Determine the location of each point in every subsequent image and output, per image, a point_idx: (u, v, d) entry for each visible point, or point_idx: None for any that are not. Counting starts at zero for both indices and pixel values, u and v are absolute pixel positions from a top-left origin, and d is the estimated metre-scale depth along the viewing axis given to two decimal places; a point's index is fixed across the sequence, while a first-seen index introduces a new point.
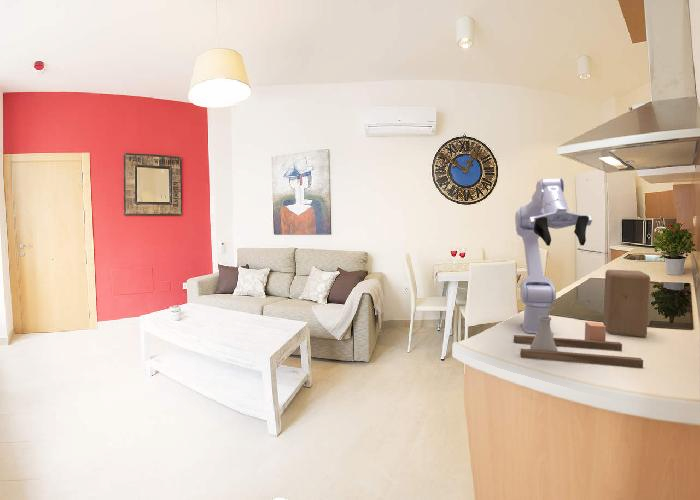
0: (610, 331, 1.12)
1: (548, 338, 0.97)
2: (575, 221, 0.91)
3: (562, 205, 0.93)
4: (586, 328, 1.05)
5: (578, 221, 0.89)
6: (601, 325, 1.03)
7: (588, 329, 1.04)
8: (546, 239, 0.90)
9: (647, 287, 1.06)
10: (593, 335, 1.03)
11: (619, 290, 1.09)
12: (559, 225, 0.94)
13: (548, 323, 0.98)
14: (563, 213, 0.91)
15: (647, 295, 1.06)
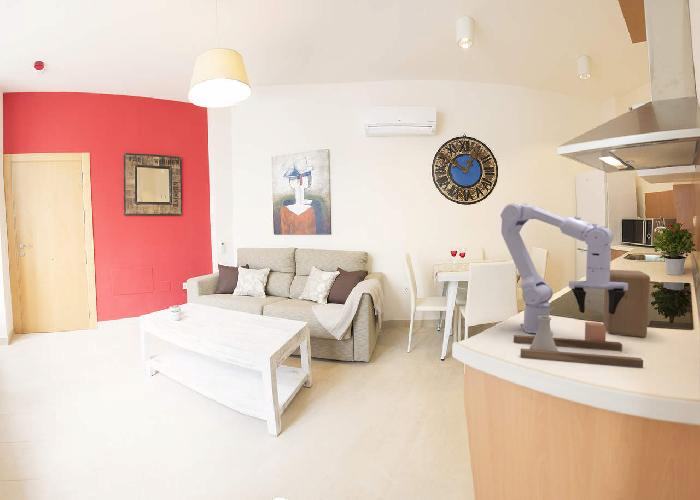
0: (610, 331, 1.12)
1: (548, 338, 0.97)
2: (612, 288, 1.01)
3: (604, 276, 0.99)
4: (586, 328, 1.05)
5: (614, 294, 1.00)
6: (601, 325, 1.03)
7: (588, 329, 1.04)
8: (580, 308, 1.04)
9: (647, 287, 1.06)
10: (593, 335, 1.03)
11: None
12: None
13: (548, 323, 0.98)
14: None
15: (647, 295, 1.06)
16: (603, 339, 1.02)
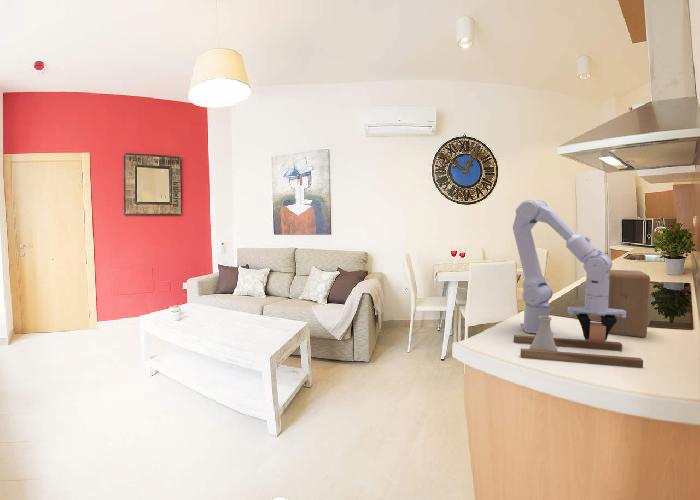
0: (610, 331, 1.12)
1: (548, 338, 0.97)
2: (610, 315, 1.02)
3: (603, 303, 1.00)
4: None
5: (606, 321, 1.02)
6: (601, 325, 1.03)
7: None
8: (584, 334, 1.05)
9: (647, 287, 1.06)
10: (593, 335, 1.03)
11: (619, 290, 1.09)
12: None
13: (548, 323, 0.98)
14: None
15: (647, 295, 1.06)
16: (603, 339, 1.02)
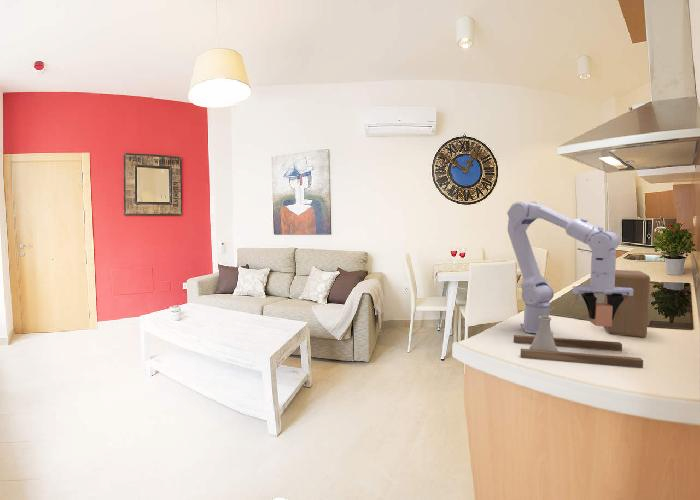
0: (610, 331, 1.12)
1: (548, 338, 0.97)
2: (617, 293, 0.99)
3: (609, 281, 0.97)
4: None
5: (613, 299, 0.98)
6: (607, 305, 0.99)
7: None
8: (590, 314, 1.01)
9: (647, 287, 1.06)
10: (600, 315, 0.99)
11: None
12: None
13: (548, 323, 0.98)
14: None
15: (647, 295, 1.06)
16: (610, 319, 0.99)
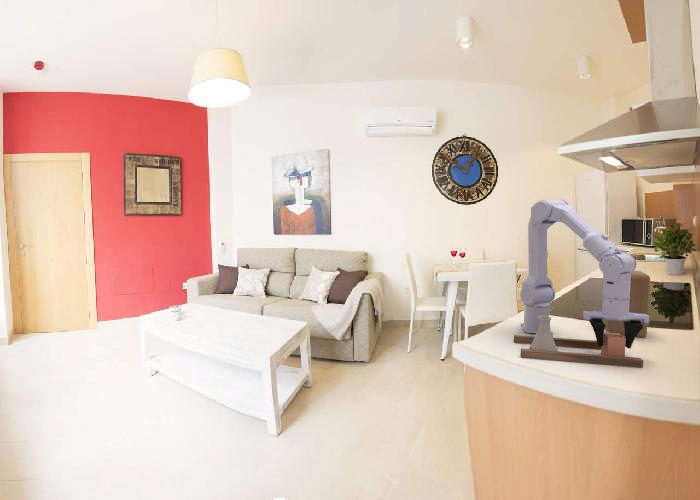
0: (610, 331, 1.12)
1: (548, 338, 0.97)
2: (631, 320, 0.92)
3: (623, 307, 0.90)
4: (603, 339, 0.96)
5: (631, 327, 0.91)
6: (620, 336, 0.93)
7: (605, 341, 0.95)
8: (598, 341, 0.95)
9: (647, 287, 1.06)
10: (612, 347, 0.93)
11: None
12: None
13: (548, 323, 0.98)
14: None
15: (647, 295, 1.06)
16: (622, 352, 0.92)
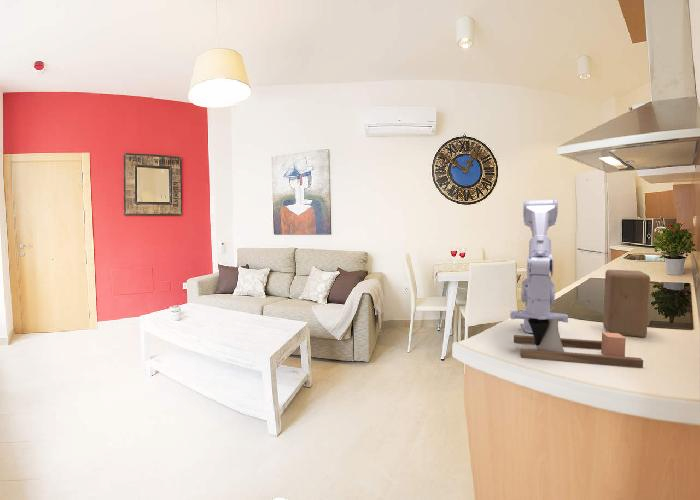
0: (610, 331, 1.12)
1: (555, 338, 0.96)
2: None
3: (544, 308, 0.96)
4: (603, 339, 0.96)
5: None
6: (620, 336, 0.93)
7: (605, 341, 0.95)
8: (535, 340, 1.00)
9: (647, 287, 1.06)
10: (611, 347, 0.93)
11: (619, 290, 1.09)
12: None
13: (556, 323, 0.97)
14: None
15: (647, 295, 1.06)
16: (622, 352, 0.92)
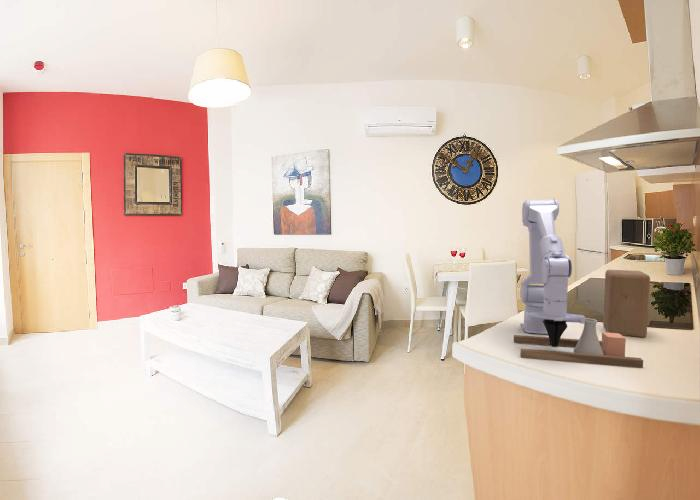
0: (610, 331, 1.12)
1: (594, 341, 0.94)
2: (569, 320, 0.97)
3: (561, 309, 0.95)
4: (603, 339, 0.96)
5: (556, 326, 0.96)
6: (620, 336, 0.93)
7: (605, 341, 0.95)
8: (550, 342, 0.99)
9: (647, 287, 1.06)
10: (611, 347, 0.93)
11: (619, 290, 1.09)
12: None
13: (594, 326, 0.94)
14: None
15: (647, 295, 1.06)
16: (622, 352, 0.92)
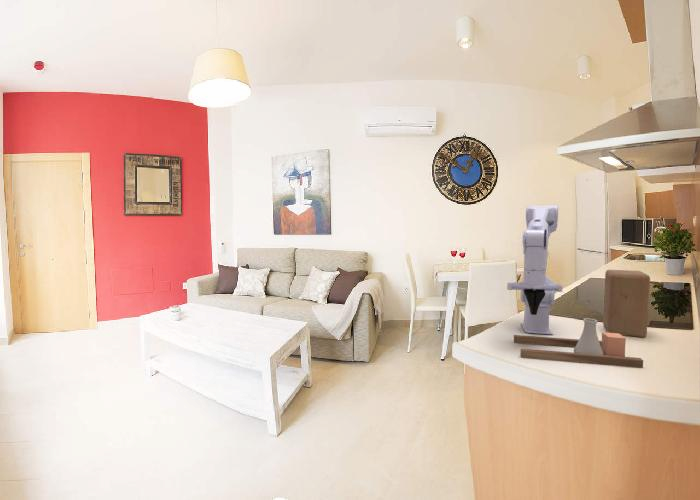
0: (610, 331, 1.12)
1: (594, 341, 0.94)
2: (547, 289, 1.02)
3: (539, 278, 1.00)
4: (603, 339, 0.96)
5: (535, 295, 1.02)
6: (620, 336, 0.93)
7: (605, 341, 0.95)
8: (530, 310, 1.04)
9: (647, 287, 1.06)
10: (612, 347, 0.93)
11: (619, 290, 1.09)
12: None
13: (594, 326, 0.94)
14: None
15: (647, 295, 1.06)
16: (622, 352, 0.92)
